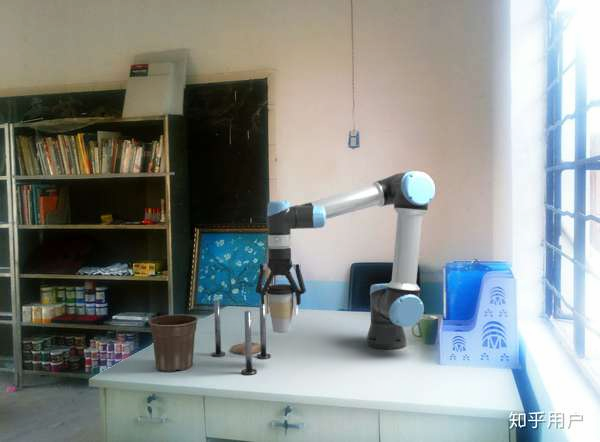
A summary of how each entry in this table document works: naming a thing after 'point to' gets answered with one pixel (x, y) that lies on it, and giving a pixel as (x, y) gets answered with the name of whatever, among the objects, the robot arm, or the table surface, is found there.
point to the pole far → (217, 331)
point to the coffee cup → (281, 307)
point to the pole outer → (248, 346)
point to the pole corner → (263, 334)
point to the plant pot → (173, 341)
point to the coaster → (241, 348)
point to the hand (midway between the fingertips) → (281, 314)
